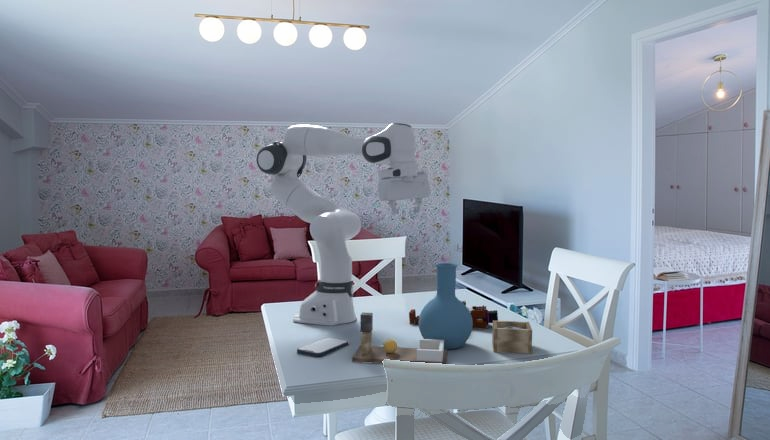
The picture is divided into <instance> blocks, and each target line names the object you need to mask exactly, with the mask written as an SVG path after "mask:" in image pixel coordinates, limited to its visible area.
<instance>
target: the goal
mask: <svg viewBox="0 0 770 440" xmlns="http://www.w3.org/2000/svg"><path fill="white" fill-rule="evenodd" d="M419 348H420V349H417V361H435V362H442V360H443V353H444V350H445V349H444V340H435V339H424V338H420V339H419Z"/></svg>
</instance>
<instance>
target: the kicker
mask: <svg viewBox="0 0 770 440" xmlns="http://www.w3.org/2000/svg"><path fill="white" fill-rule="evenodd" d="M373 314H374V313H373V312H361V313H360V321H359V324H360V329H359V330H360V343H361V344H360V345H361V354H362V355H368V354H369V352H370V351H371V349H372V346H373V344H372V343H373V342H372V339H373V338H372V335H373V333H372V332H373Z"/></svg>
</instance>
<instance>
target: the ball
mask: <svg viewBox="0 0 770 440" xmlns="http://www.w3.org/2000/svg"><path fill="white" fill-rule="evenodd" d="M383 347H384V350H385V351H386V352H387V353H394V352H395V351H396V350H397V347H399V345H398V343H397V341H396V340H394V339H392V338H389V339H387V340H385V341H384V343H383Z"/></svg>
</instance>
